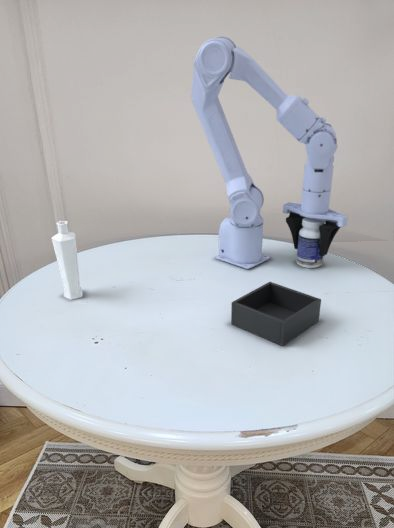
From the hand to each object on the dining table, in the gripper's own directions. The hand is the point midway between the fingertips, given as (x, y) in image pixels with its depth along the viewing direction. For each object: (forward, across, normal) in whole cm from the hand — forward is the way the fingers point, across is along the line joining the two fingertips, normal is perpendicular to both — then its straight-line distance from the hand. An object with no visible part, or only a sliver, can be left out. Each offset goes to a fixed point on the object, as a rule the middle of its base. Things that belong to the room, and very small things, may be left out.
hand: (310, 251), depth 116 cm
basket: (+3, -10, +26) cm, 28 cm away
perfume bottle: (+3, +27, +44) cm, 51 cm away
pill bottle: (+3, 0, 0) cm, 3 cm away
